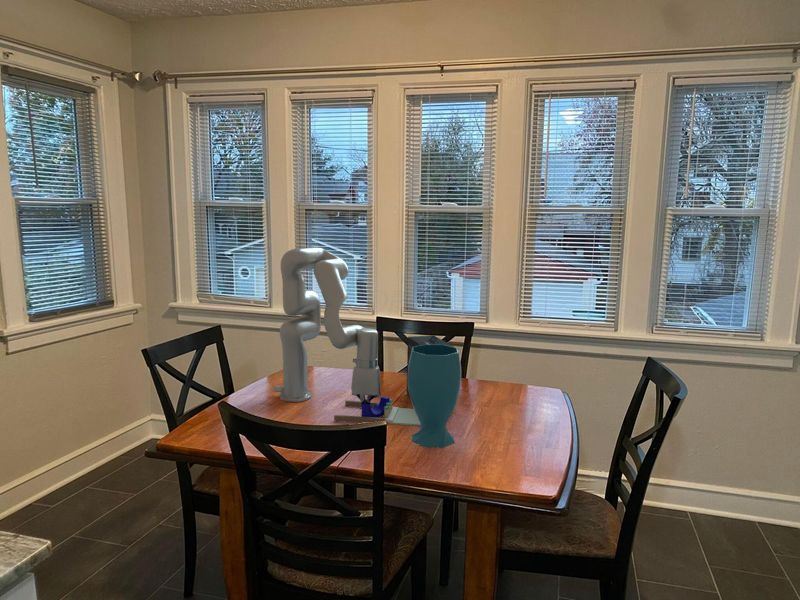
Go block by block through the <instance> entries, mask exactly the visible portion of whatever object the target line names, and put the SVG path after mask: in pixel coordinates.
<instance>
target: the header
mask: <svg viewBox="0 0 800 600" xmlns="http://www.w3.org/2000/svg"><path fill="white" fill-rule="evenodd" d="M393 401H394V400H393V398H389V403H386V406H385V407H384V416H383V417H379V418H375V417H362V416H361V415H360V416H358V415H341V414H334V415H333V421H334V420H336V421H335V422H339V421H345V422H344V423H353V424H354V423H355V424H357V423H358V424H363V423H362V422H375V421H386V422H387V423H388V424H387V425H398V424H400V426H401V425H402V426H412V425H414V426H415V427H421V425H420V421H419V419H418V417H417V414H416V412H415V410H414V408H405V407H404V408H402V407H399V406H393ZM361 403H362V402H361V401H360V400H349V399H348V400H347V399H346V400H345V403H344V404H345V407H354V408H361ZM378 403H380V401H379V402H377V401H370V405H371V409H373V407H374V406H375V405H376V404H378ZM390 423H391V424H390Z"/></svg>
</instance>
